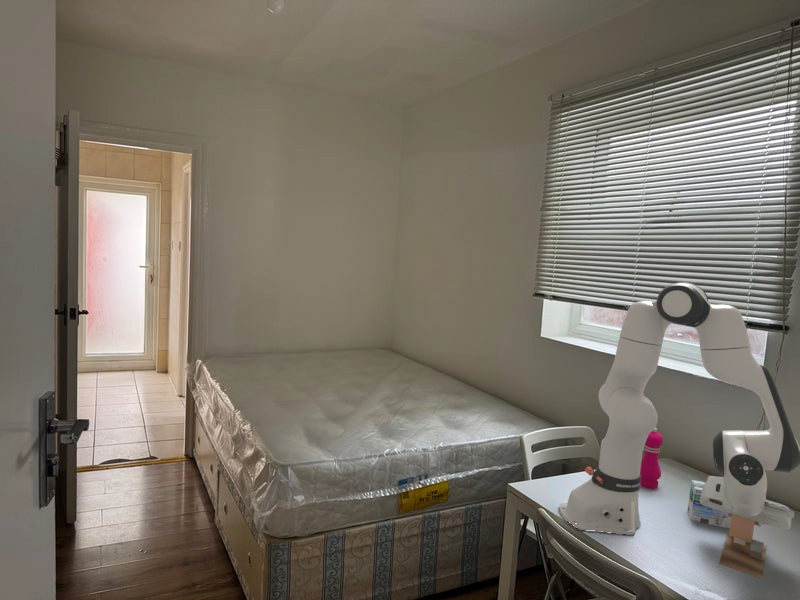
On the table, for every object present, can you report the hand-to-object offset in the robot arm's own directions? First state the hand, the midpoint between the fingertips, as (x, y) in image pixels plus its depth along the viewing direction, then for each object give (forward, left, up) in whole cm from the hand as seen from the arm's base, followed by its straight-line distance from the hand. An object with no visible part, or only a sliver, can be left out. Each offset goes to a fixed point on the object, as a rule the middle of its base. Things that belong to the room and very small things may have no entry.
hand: (743, 518), depth 145 cm
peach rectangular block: (0, 0, -4) cm, 4 cm away
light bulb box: (-1, +11, -8) cm, 14 cm away
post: (-1, 0, -6) cm, 6 cm away
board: (-4, -6, -7) cm, 10 cm away
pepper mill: (-5, +35, -8) cm, 37 cm away
